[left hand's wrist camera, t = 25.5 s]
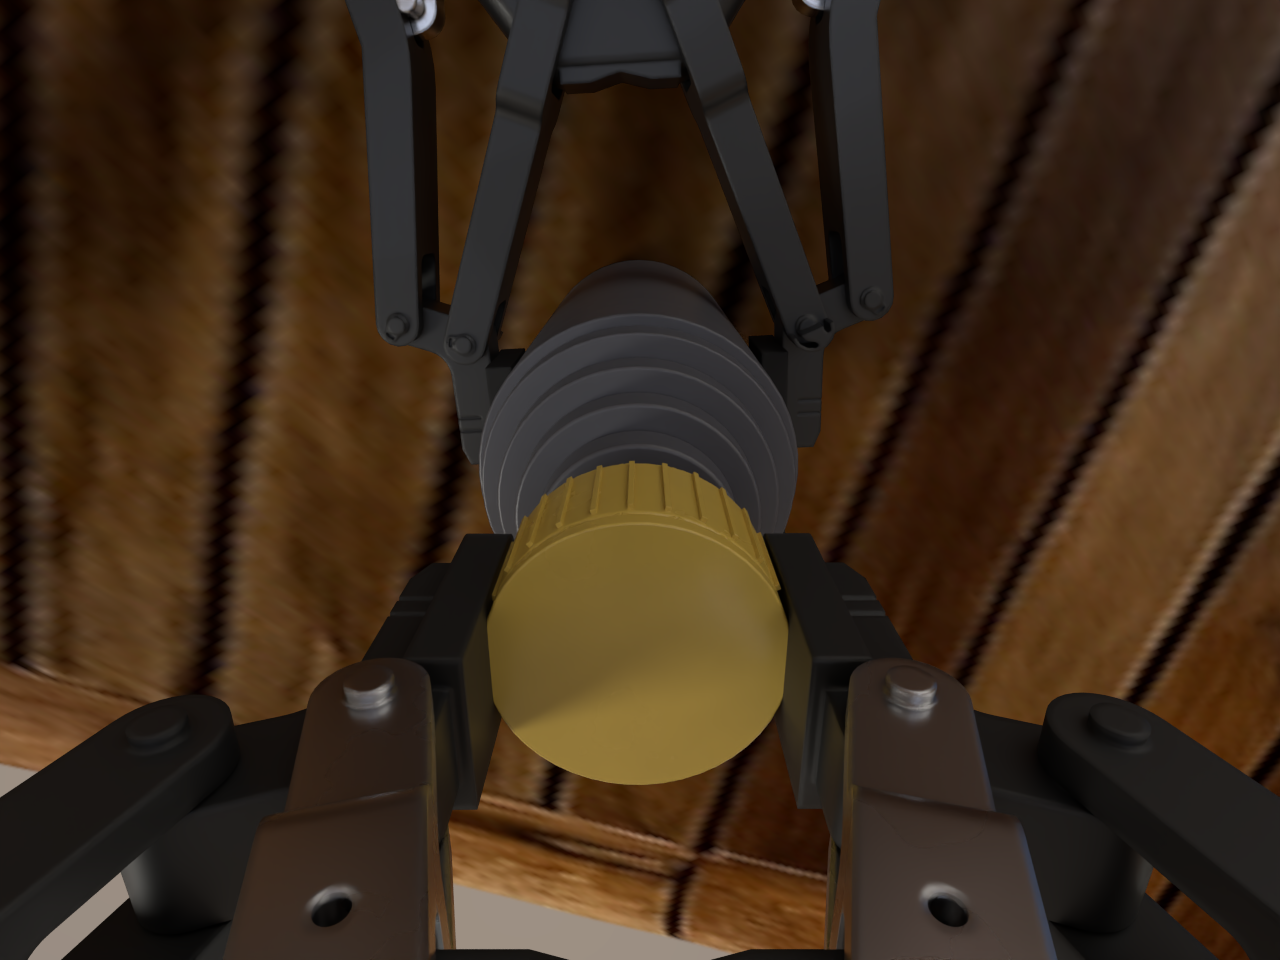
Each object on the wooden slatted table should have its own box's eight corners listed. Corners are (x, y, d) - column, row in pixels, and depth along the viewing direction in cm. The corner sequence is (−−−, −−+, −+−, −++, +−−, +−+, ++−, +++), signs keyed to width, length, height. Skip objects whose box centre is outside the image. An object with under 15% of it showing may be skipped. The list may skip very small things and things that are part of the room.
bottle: (607, 471, 31) (558, 886, 12) (512, 320, 29) (278, 552, 10) (761, 387, 30) (965, 710, 11) (675, 223, 27) (747, 282, 9)
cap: (457, 611, 12) (419, 698, 10) (599, 404, 11) (589, 454, 9) (669, 730, 13) (674, 832, 11) (823, 550, 12) (863, 627, 10)
